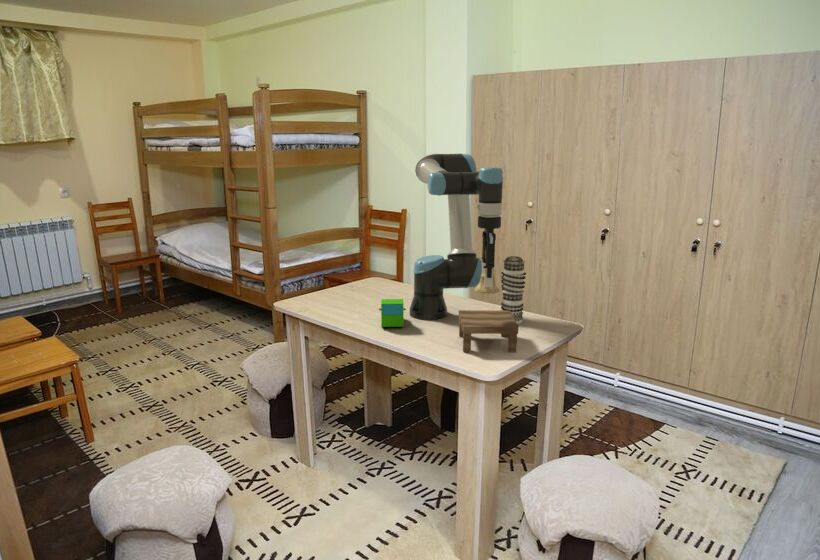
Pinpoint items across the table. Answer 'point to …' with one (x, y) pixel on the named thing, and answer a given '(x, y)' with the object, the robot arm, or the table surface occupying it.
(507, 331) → the walnut stool
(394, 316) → the toy car
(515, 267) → the decorative candle
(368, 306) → the table surface
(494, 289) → the hand bell
